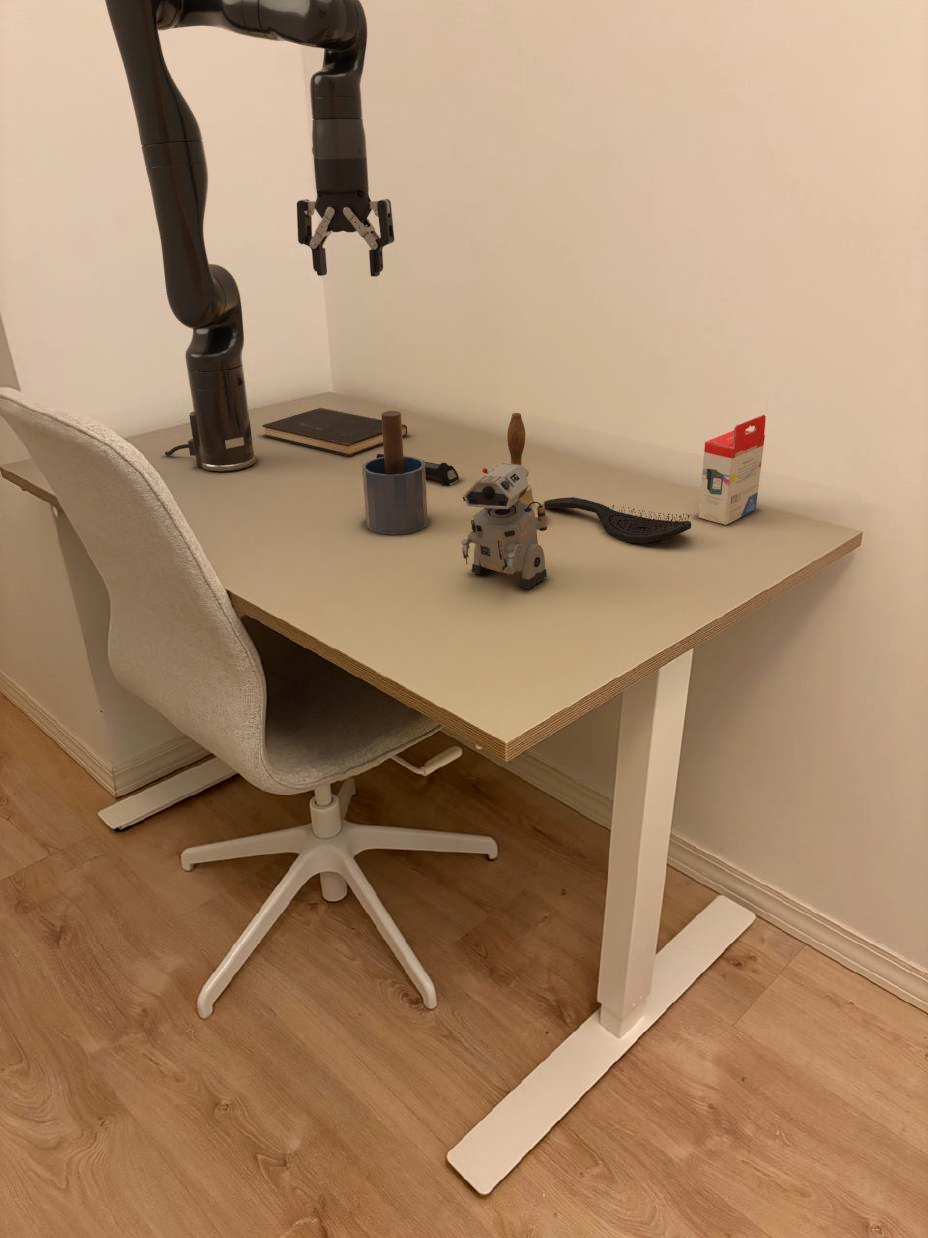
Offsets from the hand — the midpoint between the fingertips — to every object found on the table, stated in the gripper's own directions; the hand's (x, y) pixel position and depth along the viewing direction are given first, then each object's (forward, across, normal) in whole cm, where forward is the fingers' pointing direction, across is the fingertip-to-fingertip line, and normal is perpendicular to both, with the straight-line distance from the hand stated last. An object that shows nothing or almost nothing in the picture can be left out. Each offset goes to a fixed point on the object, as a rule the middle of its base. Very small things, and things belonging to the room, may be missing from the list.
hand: (348, 275), depth 145 cm
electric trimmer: (+33, -7, -6) cm, 34 cm away
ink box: (+33, -58, +1) cm, 67 cm away
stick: (+32, -11, +15) cm, 37 cm away
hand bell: (+33, -28, +10) cm, 45 cm away
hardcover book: (+33, +16, -26) cm, 45 cm away
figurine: (+33, -31, +32) cm, 55 cm away
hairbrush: (+33, -42, +9) cm, 54 cm away
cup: (+33, -11, +15) cm, 38 cm away
